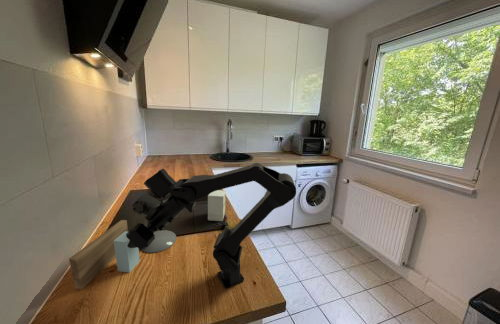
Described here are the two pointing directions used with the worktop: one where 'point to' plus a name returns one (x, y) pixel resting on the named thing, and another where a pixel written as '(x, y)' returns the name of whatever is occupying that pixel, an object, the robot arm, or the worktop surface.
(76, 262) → the backboard
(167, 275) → the worktop surface
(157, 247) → the saucer
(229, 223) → the pastry
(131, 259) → the blue block
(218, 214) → the supplement box
